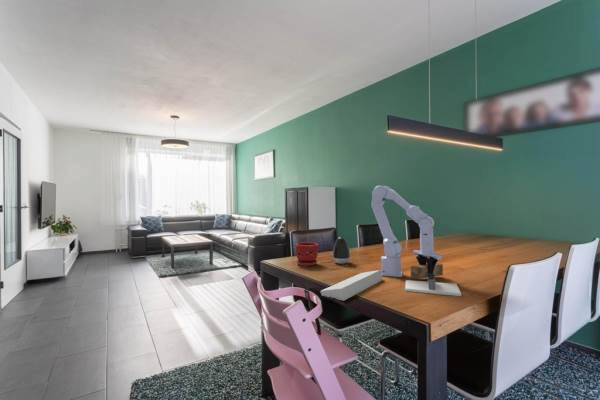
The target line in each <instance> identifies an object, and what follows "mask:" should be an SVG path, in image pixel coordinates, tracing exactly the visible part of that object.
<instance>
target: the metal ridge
mask: <svg viewBox="0 0 600 400" xmlns="http://www.w3.org/2000/svg"><path fill="white" fill-rule="evenodd" d="M427 282H428V288H429V290H435V282H436V276H434V274H430V273H428V278H427Z"/></svg>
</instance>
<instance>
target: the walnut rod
mask: <svg viewBox="0 0 600 400" xmlns="http://www.w3.org/2000/svg"><path fill="white" fill-rule="evenodd" d="M443 267H444V266H443V264H442V263H439V262H437V263H436V265H435V267H434V271H433V274H434V277H439V276H443V275H444V273H443V271H444V270H443V269H444V268H443ZM410 278H411V279H414V280H421V279H422V280H423V279H426V278H427V279H428V265H427V263H426V264H424V265H418V264H417V265H413V266H412V265H411V266H410Z"/></svg>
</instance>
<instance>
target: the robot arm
mask: <svg viewBox="0 0 600 400" xmlns="http://www.w3.org/2000/svg"><path fill="white" fill-rule="evenodd" d="M387 200H392V201H394V202H395V203H396V204H397V205H398V206H400V207H401V208H402V209H403V210H405V214H406V215H407V217H409V218H410V219H411V220H412V221H413V222H415V223H416V224H418V227H419V232H420V233H419V250H418V249H413V251H412V252H413V253H412V254H413V255H417V256H415V258H416V260H417V262H418V264H419V265H424V264H427V265H428V273H430V274H433V271H434V267H435V265H436V263H438V262H439V261H441V260H443V259H442V258H443V256H442V255H441V254H439V253H437V252H435V251H434V250H435V249H434V241H435V239H434V228H433V227H434V225H435V220H434V219H433V217H431V216H429V215H428V213H425V212H424V211H423V210H422V209H421V207H420V206H419V205H415V204H413V205H412V204H410V203H409V202H407V200H406V199H404V198H403V197H402V196H401V195H400V194H399V193H397V192H396V190H395V189H393V188H391V187H390V186H388V185H380V184H379V185H376V186H375V187H374V188H373V190H372V192H371V203H370V204H371V210H372V211H373V214H374V216H375V219H376V222H377V224H378V228H379V231H380V233H381V236H382V238H383V240H382V241H383V242H382V244H383V253H384V254H385V255H381V256H380V271H381V275H382V277H383V276H384V277H396V278H397V277H399V278H402V277H403V272H402V255H401V253H402V251H403V246H402V244H401V243H400V242H399V241H398V238H397V237H396V236H395V234H394V231H393V229H392V227H391V224H390V221H389V219H388V216H387V214H386V210H385V209H384V204H385V202H386V201H387Z"/></svg>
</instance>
